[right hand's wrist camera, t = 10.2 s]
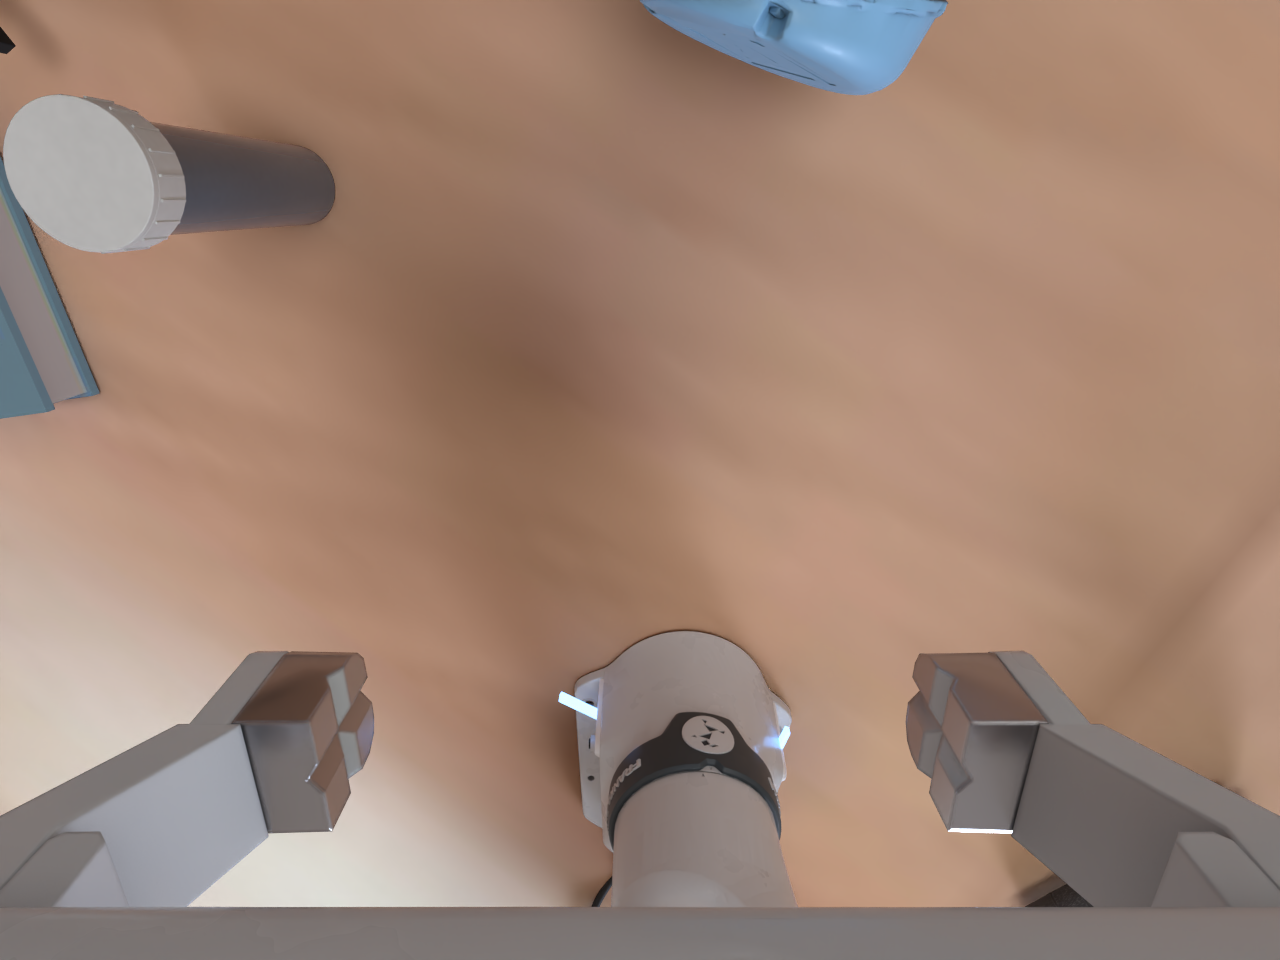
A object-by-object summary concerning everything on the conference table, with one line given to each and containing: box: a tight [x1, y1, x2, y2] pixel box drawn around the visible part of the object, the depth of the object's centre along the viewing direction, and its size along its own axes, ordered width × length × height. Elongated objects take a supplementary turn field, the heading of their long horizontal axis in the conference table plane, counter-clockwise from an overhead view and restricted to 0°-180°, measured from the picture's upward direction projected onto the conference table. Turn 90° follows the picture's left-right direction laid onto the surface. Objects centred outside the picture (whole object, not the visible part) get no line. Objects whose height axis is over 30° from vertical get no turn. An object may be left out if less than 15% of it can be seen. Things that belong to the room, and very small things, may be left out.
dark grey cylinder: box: [150, 122, 335, 235], centre depth 39 cm, size 5×5×20 cm
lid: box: [3, 94, 186, 254], centre depth 30 cm, size 6×6×2 cm
